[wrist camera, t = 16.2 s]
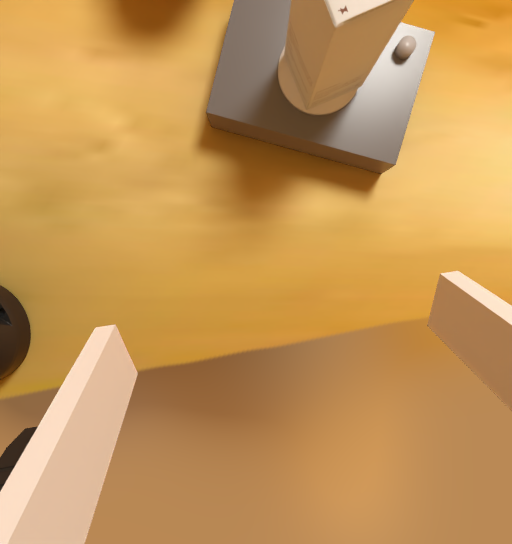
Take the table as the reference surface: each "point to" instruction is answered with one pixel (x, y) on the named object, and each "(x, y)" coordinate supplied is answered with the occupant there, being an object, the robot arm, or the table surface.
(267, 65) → the grey base plate
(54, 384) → the table surface
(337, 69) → the supplement box
